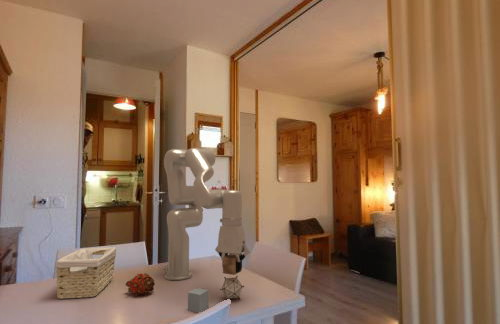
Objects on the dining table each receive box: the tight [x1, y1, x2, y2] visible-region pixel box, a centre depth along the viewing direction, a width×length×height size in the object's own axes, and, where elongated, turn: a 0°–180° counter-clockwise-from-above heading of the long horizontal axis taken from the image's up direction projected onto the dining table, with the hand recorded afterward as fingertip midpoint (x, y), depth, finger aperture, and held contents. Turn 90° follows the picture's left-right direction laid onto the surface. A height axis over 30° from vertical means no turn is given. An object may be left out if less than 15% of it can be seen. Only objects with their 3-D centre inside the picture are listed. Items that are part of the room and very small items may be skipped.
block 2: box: [222, 253, 242, 276], centre depth 111 cm, size 5×5×6 cm
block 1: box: [187, 287, 209, 314], centre depth 101 cm, size 5×5×6 cm
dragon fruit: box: [125, 272, 156, 297], centre depth 116 cm, size 8×8×12 cm
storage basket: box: [55, 246, 117, 300], centre depth 122 cm, size 24×16×15 cm
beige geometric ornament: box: [219, 274, 245, 300], centre depth 110 cm, size 9×8×10 cm
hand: (232, 270), depth 111 cm, fingers closed on block 2, 5 cm apart
